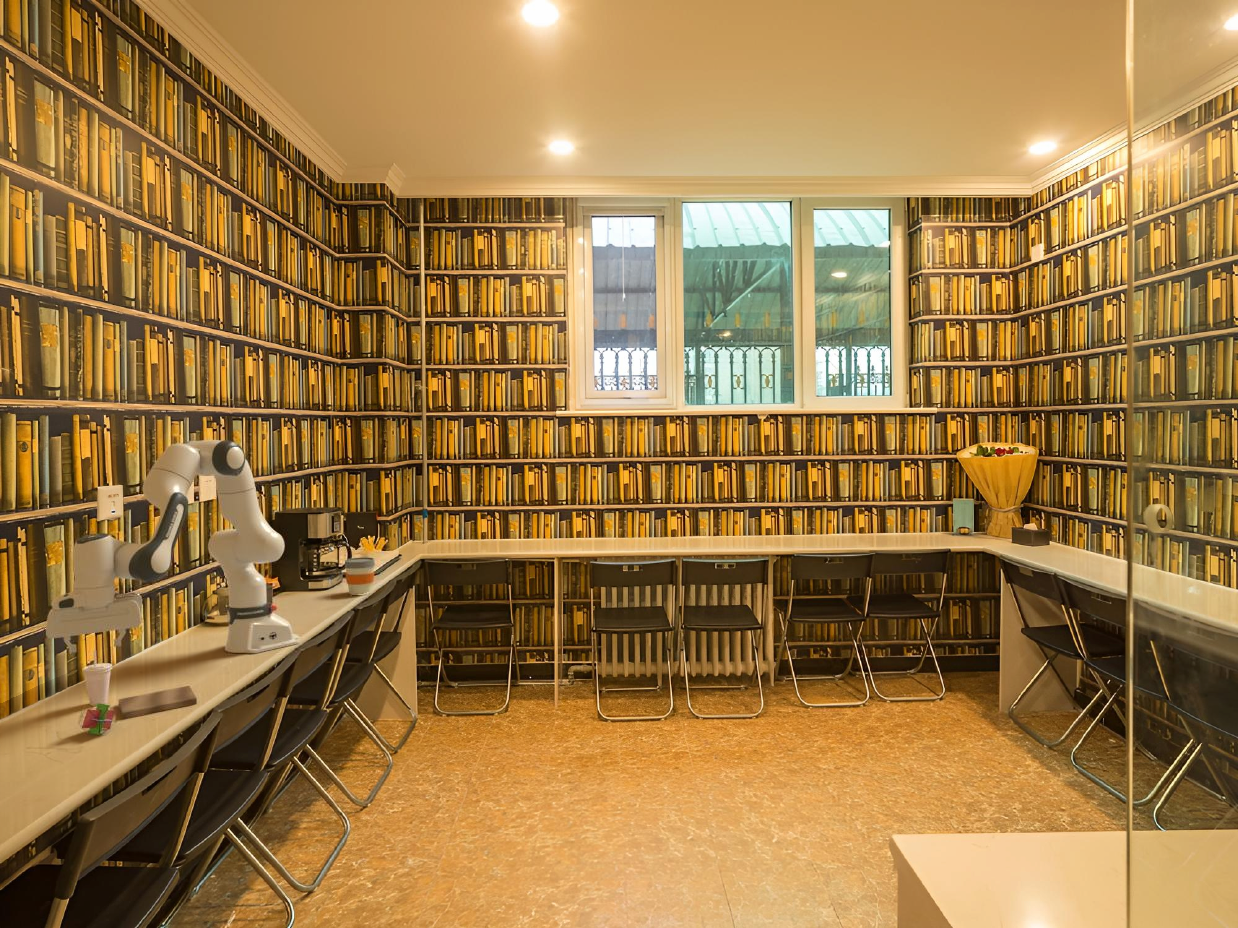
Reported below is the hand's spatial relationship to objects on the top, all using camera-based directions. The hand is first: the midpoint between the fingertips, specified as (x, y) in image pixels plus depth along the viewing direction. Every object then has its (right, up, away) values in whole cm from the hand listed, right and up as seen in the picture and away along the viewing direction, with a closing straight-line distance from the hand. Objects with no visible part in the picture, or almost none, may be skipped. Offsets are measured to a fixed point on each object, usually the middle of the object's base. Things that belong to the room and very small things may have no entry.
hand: (95, 649), depth 190 cm
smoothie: (0, -15, +1) cm, 15 cm away
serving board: (+16, -14, 0) cm, 22 cm away
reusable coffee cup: (+23, -9, +130) cm, 132 cm away
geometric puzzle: (+14, -15, -18) cm, 27 cm away
